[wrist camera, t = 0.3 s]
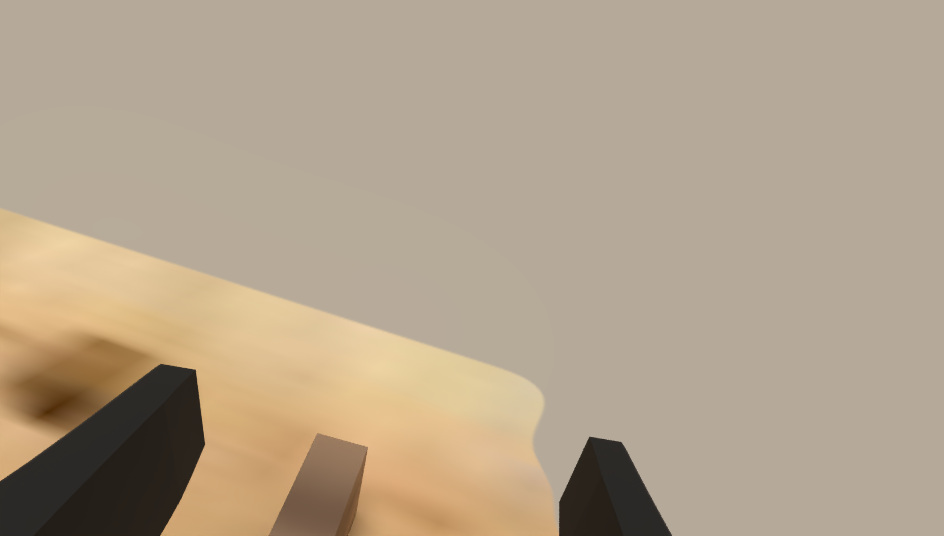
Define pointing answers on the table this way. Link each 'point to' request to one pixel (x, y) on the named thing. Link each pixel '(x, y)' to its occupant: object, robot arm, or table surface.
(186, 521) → the table surface
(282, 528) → the brown wooden bar
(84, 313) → the table surface
